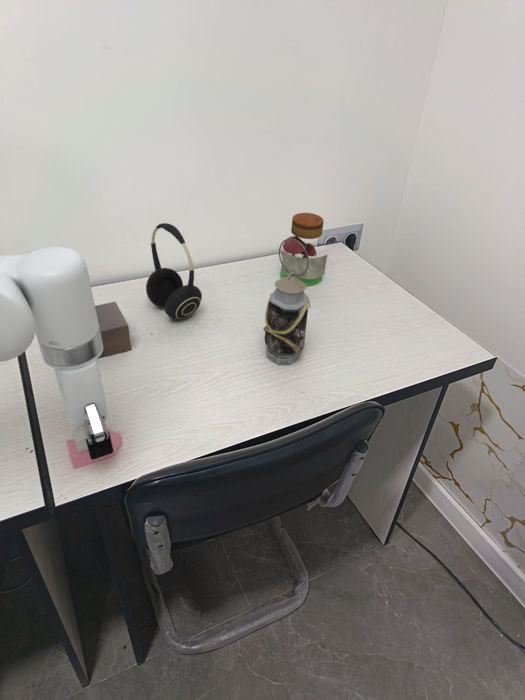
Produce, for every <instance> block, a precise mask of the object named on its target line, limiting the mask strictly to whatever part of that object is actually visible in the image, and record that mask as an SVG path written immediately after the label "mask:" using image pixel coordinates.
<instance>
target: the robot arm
mask: <svg viewBox="0 0 525 700" xmlns="http://www.w3.org/2000/svg"><path fill="white" fill-rule="evenodd" d="M95 306H96V305H95V299H94V294H93V289H92V285H91V280H90V275H89V269H88V266H87V262H86V260H85V258H84V257H83V256H82V254H80V253H79V252H78V251H77V250H74V249H72V248H69V247H66V246H48V247H42V248H38V249H35V250H33V251H31V252H29V253H23V254H12V255H11V254H7V255H0V363H2V362H3V363H4V362H8V361H11V360H13V359H15V358H17V357H19V356H21V355H22V354H24V353H25V352H26V351H27V350H28V349H29V347H30V346H31V344H32V343H33V340H34V338H35V336H36V340H37V343H38V346H39V350H40V352H41V353H40V354H41V356H42V360H43V362H44V363H45V364H46V365H47V366H48V367H50V368H52V369H54V373H55V377H56V380H57V384H58V387H59V390H60V394H61V397H62V400H63V403H64V405H65V406H64V407H65V410H66V412H67V417H68V418H69V422H70V425H71V427H72V428H73V429H75V430H78V429H81V428H84V429H85V432H86V435H87V439H86V443H87V447H88V450H89V454H90V457H91V459H92V460H94V459H97V458H100V457H103V456H106V455H108V454H111V453H113V446H112V442H111V437H110V433H109V432H108V431H107V429H108V428H107V425H106V420H107V419H108V417H109V413H108V411H109V410H108V406H107V400H106V394H105V390H104V384H103V381H102V376H101V371H100V367H99V363H98V359H100V358H99V357H100V355H101V354H102V352H103V343H102V338H101V333H100V328H99V323H98V318H97V314H96V309H95ZM87 418H88V419H87ZM86 419H87V420H86ZM88 426H91V427H92V431H93V434H90V431H89V427H88Z"/></svg>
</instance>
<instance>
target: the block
mask: <svg viewBox="0 0 525 700" xmlns="http://www.w3.org/2000/svg"><path fill="white" fill-rule="evenodd" d="M95 309H96V314H97V318H98V323H99V328H100V333H101V338H102V343H103V352H102V354H101V355H100V357H99V358H98V359H102V358H105V357H111V356H113V355H117V354H118V355H119V354H122V353H126V352H129V351H132V342H131V336H130V326H129V324H128V322H127V320H126V318H125V317H124V315H123V313H122V310H121V309H120V307H119V305H118V303H117V301H111V302H106V303H102V304H98V305H97V304H96V305H95Z"/></svg>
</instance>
